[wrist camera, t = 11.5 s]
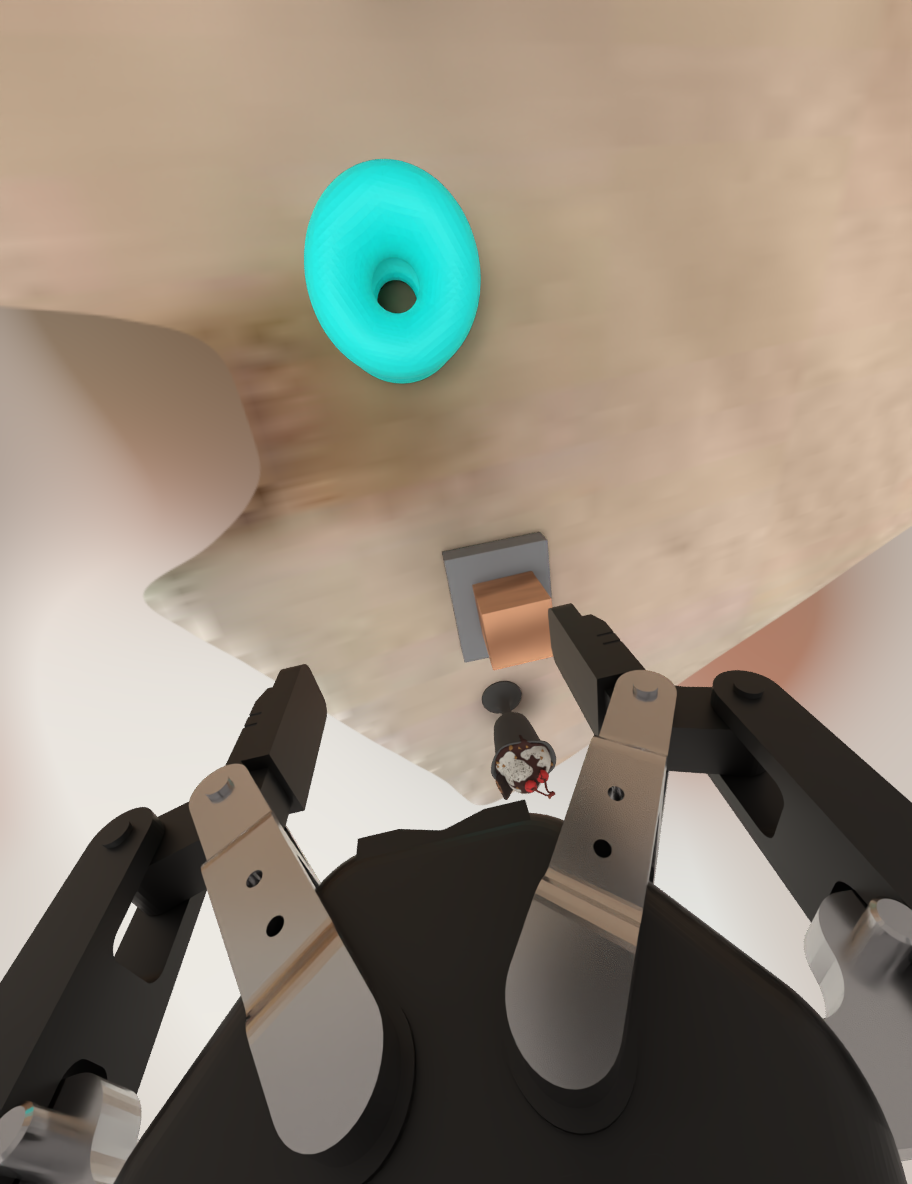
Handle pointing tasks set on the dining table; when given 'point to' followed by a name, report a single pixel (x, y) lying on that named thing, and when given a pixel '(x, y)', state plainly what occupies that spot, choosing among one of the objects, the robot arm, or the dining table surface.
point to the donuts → (392, 269)
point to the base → (486, 566)
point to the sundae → (516, 744)
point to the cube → (514, 619)
